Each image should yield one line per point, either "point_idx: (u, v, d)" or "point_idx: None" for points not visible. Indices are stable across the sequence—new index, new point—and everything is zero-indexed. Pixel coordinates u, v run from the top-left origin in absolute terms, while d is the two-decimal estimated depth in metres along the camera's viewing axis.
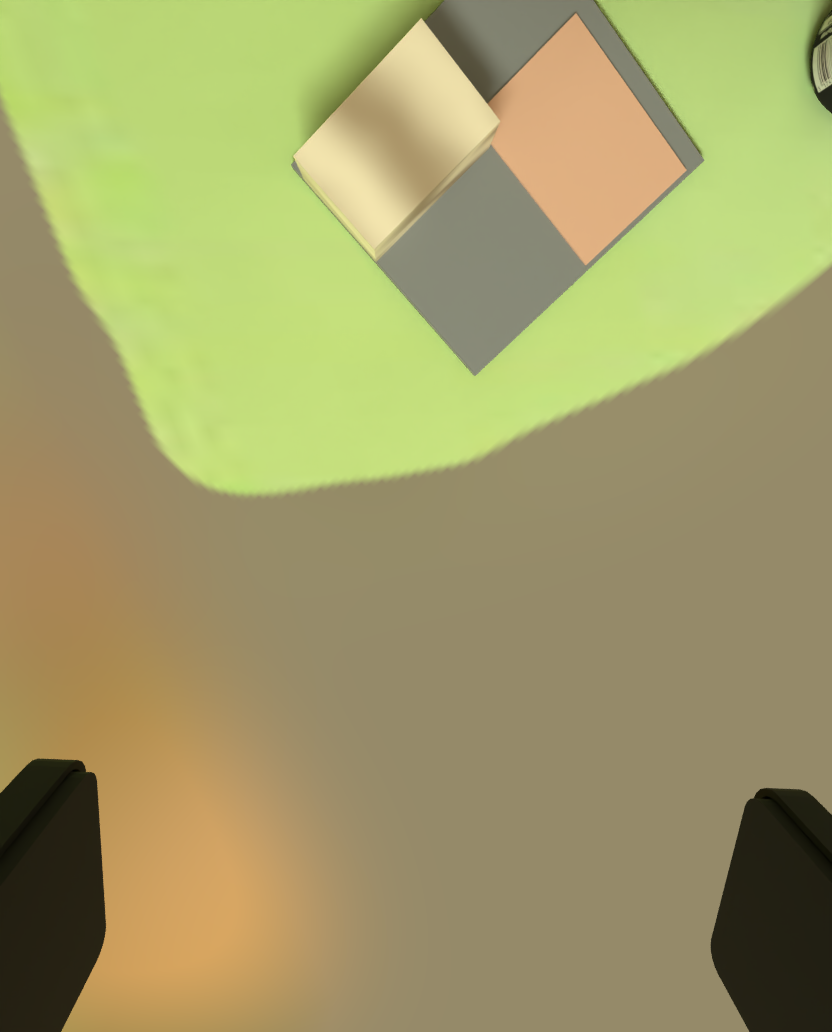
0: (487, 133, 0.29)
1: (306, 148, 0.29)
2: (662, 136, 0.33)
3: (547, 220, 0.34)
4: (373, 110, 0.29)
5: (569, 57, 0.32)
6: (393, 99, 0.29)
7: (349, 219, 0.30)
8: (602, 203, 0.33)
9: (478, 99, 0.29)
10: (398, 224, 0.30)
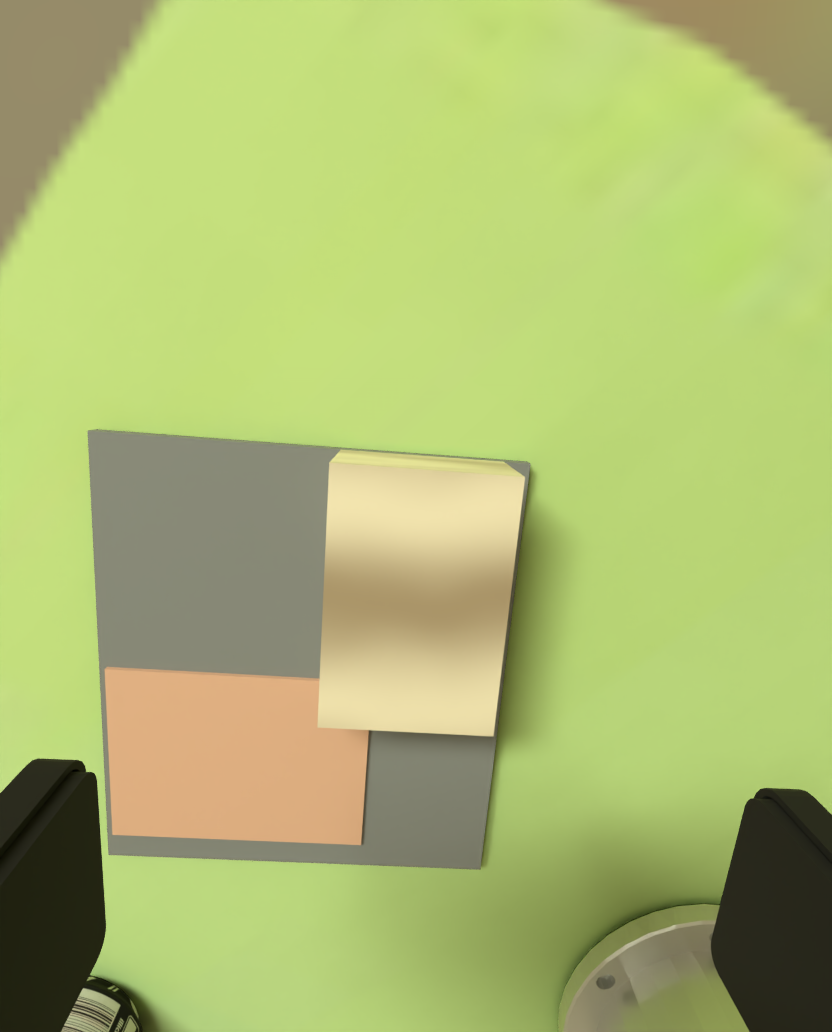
0: (319, 704, 0.19)
1: (515, 500, 0.18)
2: (169, 836, 0.24)
3: (197, 669, 0.22)
4: (470, 611, 0.18)
5: (329, 811, 0.24)
6: (456, 641, 0.19)
7: (393, 468, 0.17)
8: (158, 735, 0.23)
9: (361, 724, 0.19)
10: (327, 520, 0.18)
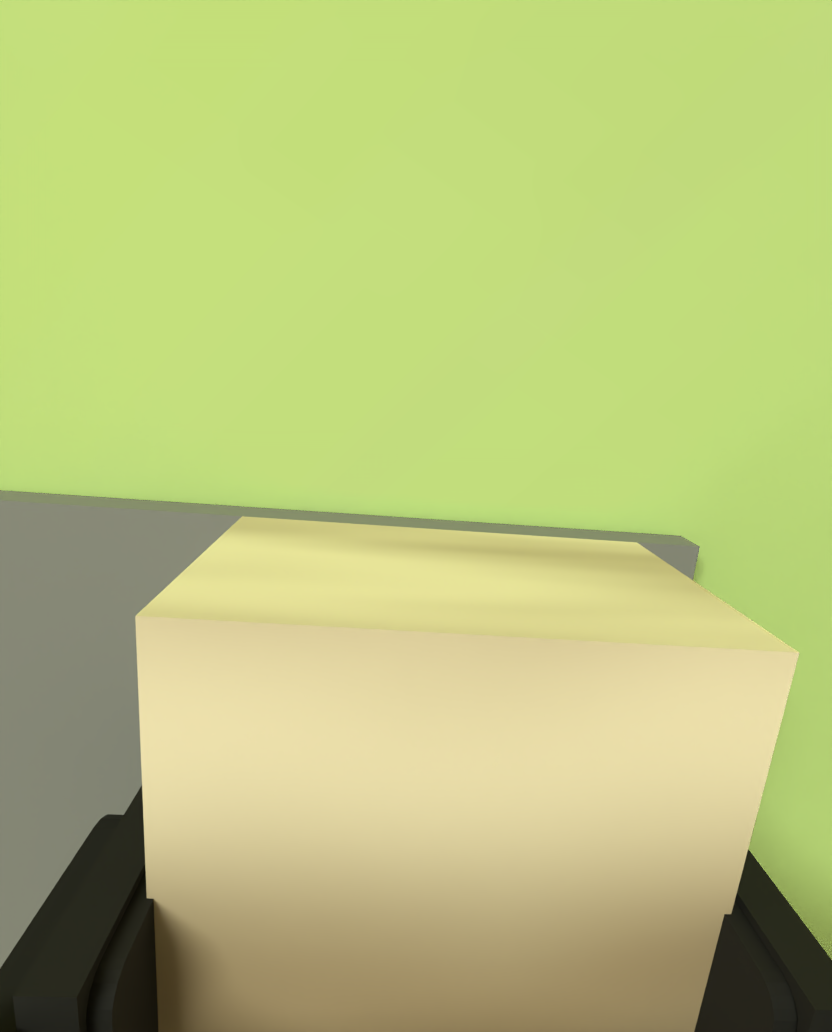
0: None
1: (758, 723, 0.05)
2: None
3: None
4: (592, 1018, 0.06)
5: None
6: None
7: (359, 632, 0.05)
8: None
9: None
10: (147, 789, 0.05)
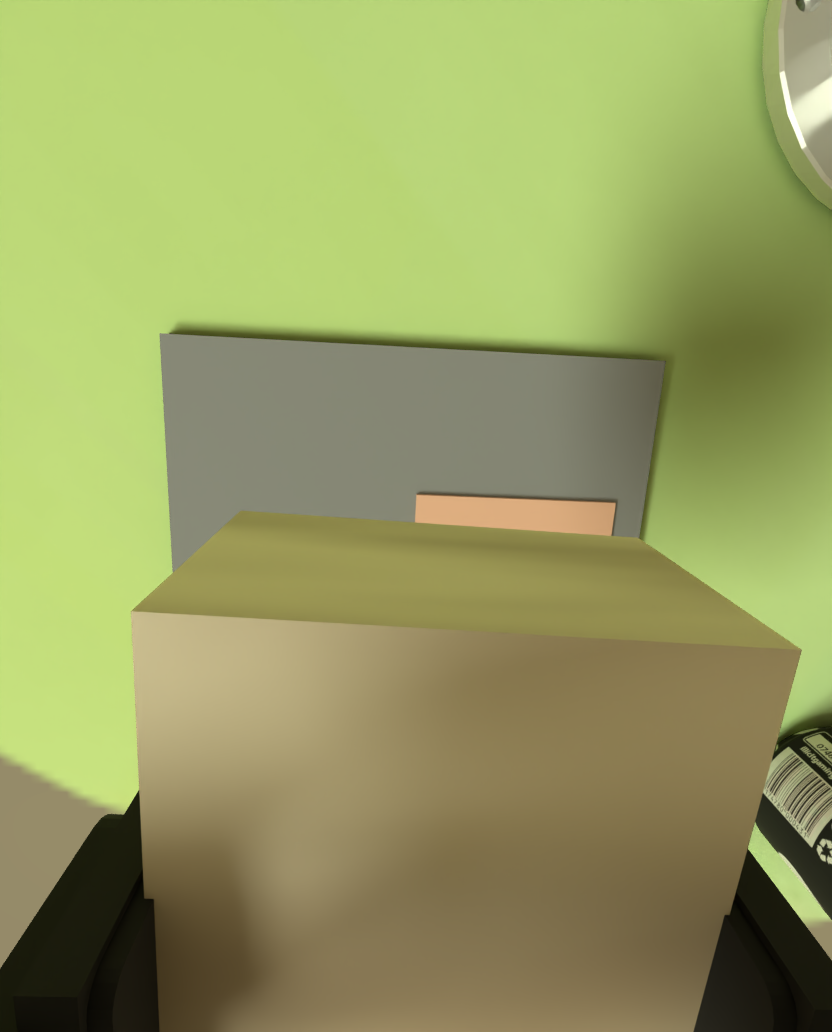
0: None
1: (759, 720, 0.05)
2: None
3: None
4: (591, 1014, 0.06)
5: None
6: None
7: (357, 628, 0.05)
8: None
9: None
10: (144, 785, 0.05)
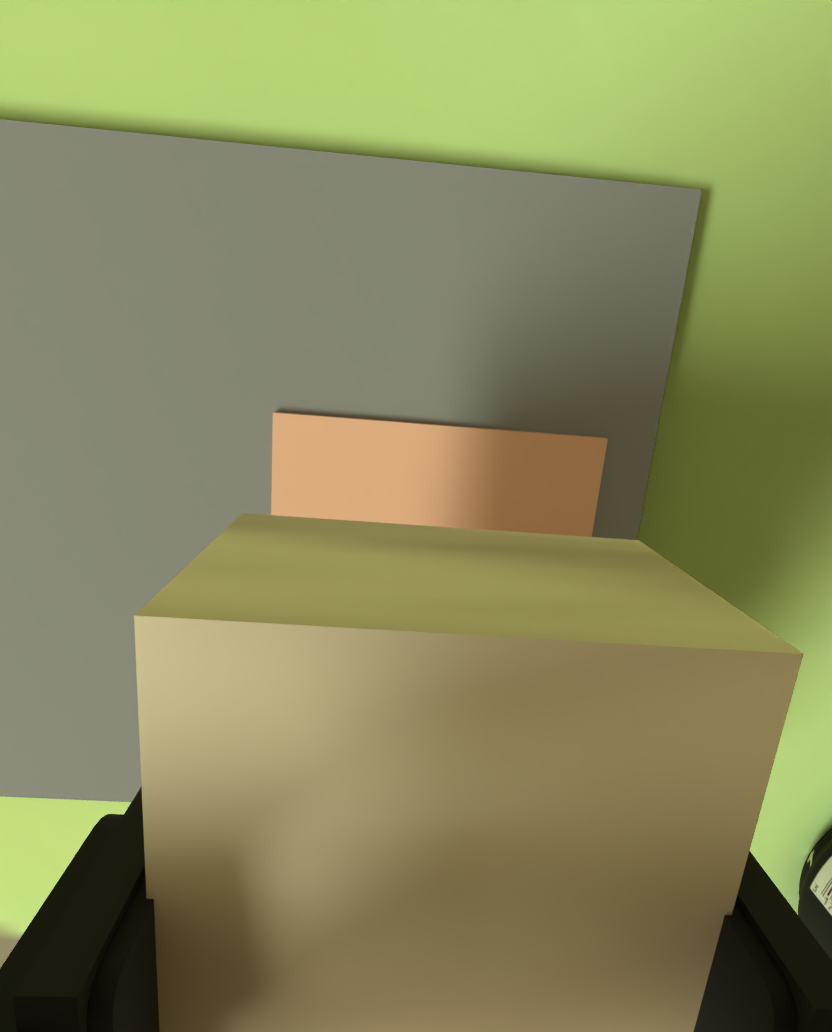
0: None
1: (761, 724, 0.05)
2: None
3: None
4: (592, 1017, 0.06)
5: (531, 493, 0.13)
6: None
7: (359, 632, 0.05)
8: None
9: None
10: (146, 788, 0.05)
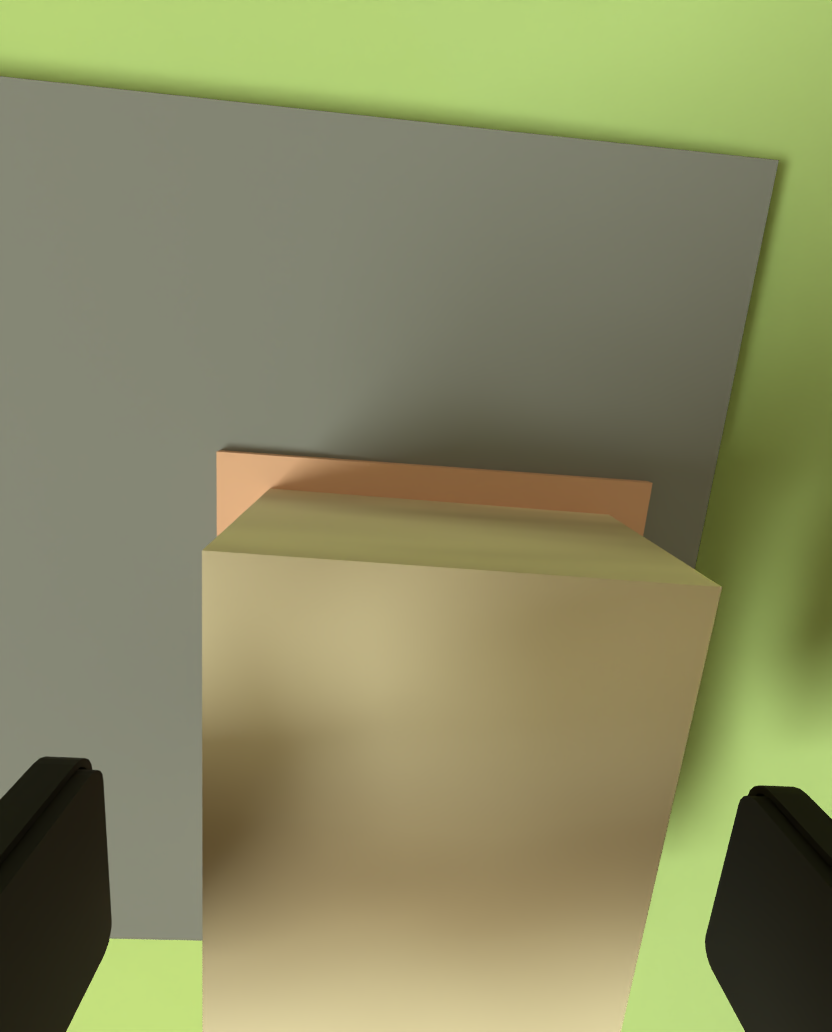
0: None
1: (691, 644, 0.07)
2: None
3: None
4: (561, 893, 0.08)
5: None
6: (524, 954, 0.08)
7: (375, 566, 0.06)
8: None
9: None
10: (205, 692, 0.07)
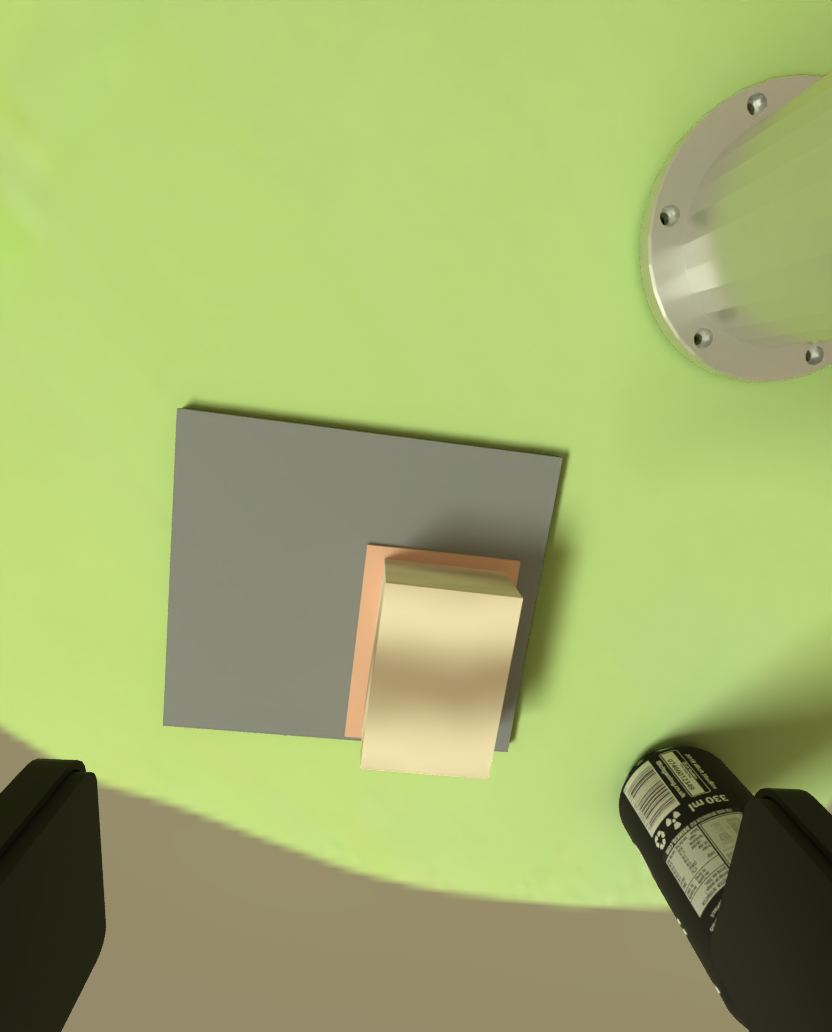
0: (363, 752, 0.26)
1: (515, 614, 0.25)
2: None
3: (350, 673, 0.29)
4: (478, 689, 0.25)
5: None
6: (466, 709, 0.26)
7: (430, 588, 0.24)
8: None
9: (393, 767, 0.26)
10: (380, 621, 0.24)
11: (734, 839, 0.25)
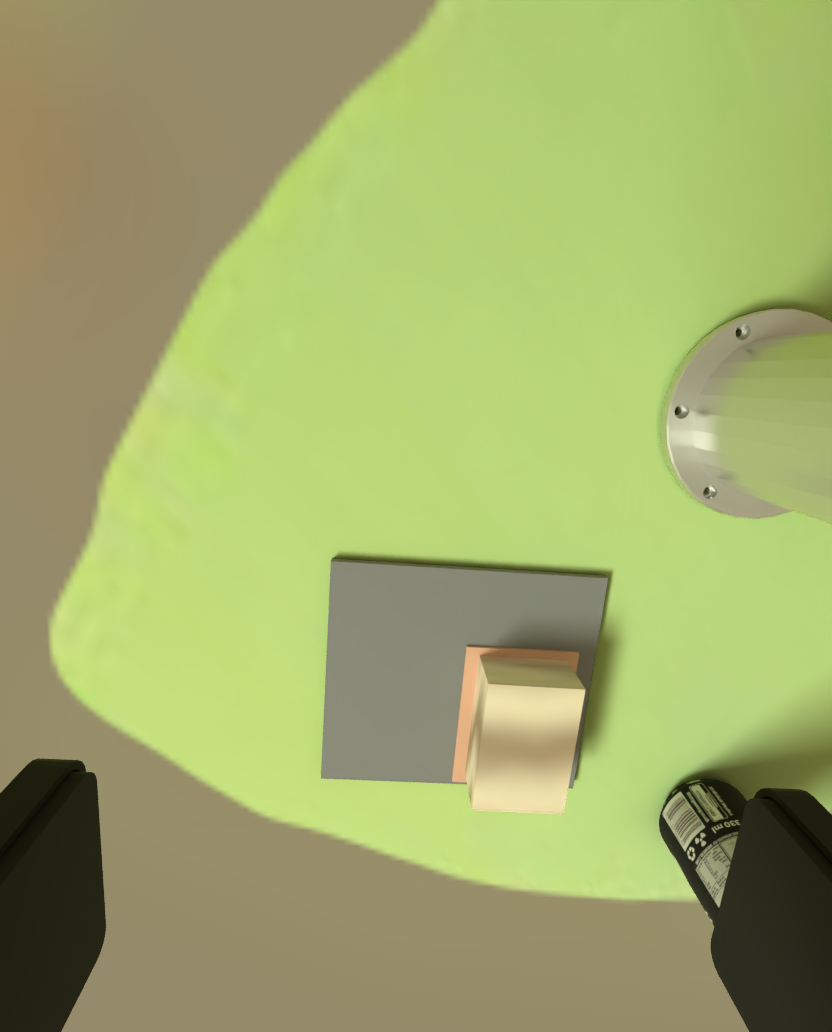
0: (473, 798, 0.36)
1: (580, 700, 0.35)
2: None
3: (455, 736, 0.39)
4: (554, 752, 0.36)
5: None
6: (546, 767, 0.36)
7: (519, 686, 0.34)
8: None
9: (495, 808, 0.36)
10: (485, 710, 0.35)
11: None
